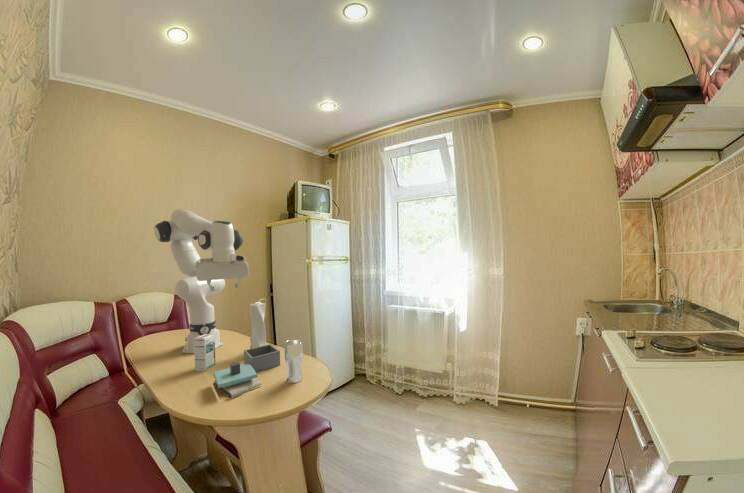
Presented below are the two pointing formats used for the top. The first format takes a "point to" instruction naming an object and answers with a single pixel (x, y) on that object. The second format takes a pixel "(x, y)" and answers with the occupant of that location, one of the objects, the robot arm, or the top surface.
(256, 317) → the skyscraper
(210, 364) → the syrup box
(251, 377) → the lid
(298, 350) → the beer glass
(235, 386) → the washcloth
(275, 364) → the box
